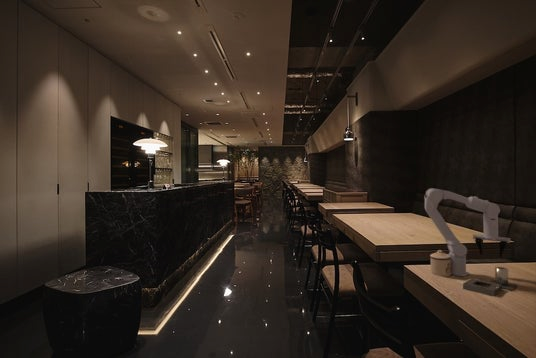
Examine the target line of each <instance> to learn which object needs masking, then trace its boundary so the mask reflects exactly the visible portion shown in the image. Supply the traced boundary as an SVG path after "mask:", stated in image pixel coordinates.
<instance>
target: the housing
mask: <svg viewBox="0 0 536 358" xmlns="http://www.w3.org/2000/svg"><path fill="white" fill-rule="evenodd" d="M462 289H463V290H466V291H470V292H475V293H478V294H482V295H483V294H484V295H487V296H492V297H495V296H497V294H499V293H501V291H503V289H502V285H501V284H497V283H492V282H490V281H486V280H482V279H477V278H473V277H472V278H470V279H469V280H467V281H465V282H463V283H462Z"/></svg>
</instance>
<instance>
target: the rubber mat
mask: <svg viewBox="0 0 536 358" xmlns="http://www.w3.org/2000/svg"><path fill="white" fill-rule="evenodd" d="M489 282H492V283H495V279H492V280H490V281H489ZM517 287H518V284H517V283H511V282H508V286H502V290H505V291H511V292H513V291H514V290H515V289H516V288H517Z"/></svg>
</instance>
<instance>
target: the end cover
mask: <svg viewBox="0 0 536 358" xmlns="http://www.w3.org/2000/svg"><path fill="white" fill-rule="evenodd" d="M494 280H495V283H497V284H501V285H502V286H508V283H509V268H507V267H505V266H504V267H503V266H495V267H494Z"/></svg>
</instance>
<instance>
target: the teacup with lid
mask: <svg viewBox="0 0 536 358" xmlns="http://www.w3.org/2000/svg"><path fill="white" fill-rule="evenodd" d="M447 254H448V253H446V252H443V250H441V249H438V250H437V251H436V252H434V253H431V254H430V255H429V257H430V271H431V274H432V275H434V276H437V277H450V276H451V275H452V274H451V261H450V259H451V257H450V255H447Z"/></svg>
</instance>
